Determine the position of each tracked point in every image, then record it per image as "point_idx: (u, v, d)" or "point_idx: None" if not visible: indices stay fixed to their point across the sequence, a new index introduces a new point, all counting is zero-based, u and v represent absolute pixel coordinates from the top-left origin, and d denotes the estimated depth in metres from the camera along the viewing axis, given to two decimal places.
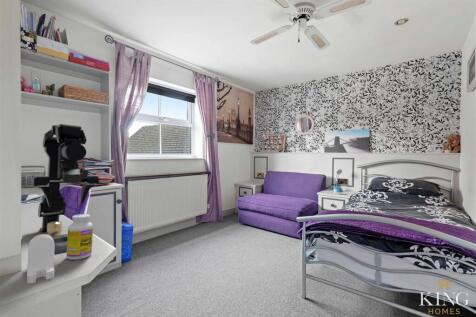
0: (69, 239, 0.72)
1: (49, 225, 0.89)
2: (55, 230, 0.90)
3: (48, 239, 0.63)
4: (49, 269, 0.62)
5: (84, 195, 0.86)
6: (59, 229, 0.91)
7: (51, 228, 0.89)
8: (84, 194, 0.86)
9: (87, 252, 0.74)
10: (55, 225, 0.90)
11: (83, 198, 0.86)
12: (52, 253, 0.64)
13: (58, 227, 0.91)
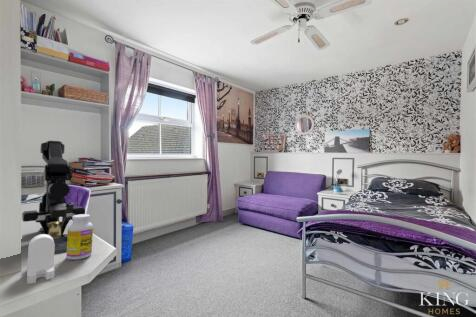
0: (69, 239, 0.72)
1: (49, 225, 0.89)
2: (55, 230, 0.90)
3: (48, 239, 0.63)
4: (49, 269, 0.62)
5: (64, 227, 0.93)
6: (59, 229, 0.91)
7: (51, 228, 0.89)
8: (64, 226, 0.93)
9: (87, 252, 0.74)
10: (55, 225, 0.90)
11: (63, 229, 0.93)
12: (52, 253, 0.64)
13: (59, 227, 0.91)
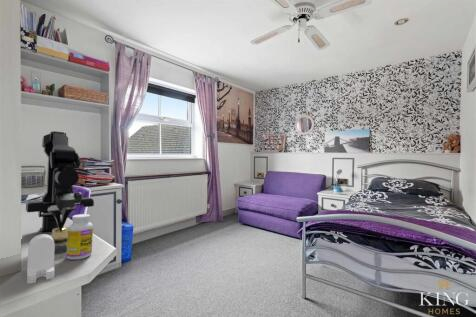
0: (69, 239, 0.72)
1: (54, 231, 0.82)
2: (61, 236, 0.82)
3: (48, 239, 0.63)
4: (49, 269, 0.62)
5: (64, 220, 0.84)
6: (65, 235, 0.84)
7: (57, 234, 0.82)
8: (64, 219, 0.84)
9: (87, 252, 0.74)
10: (61, 231, 0.82)
11: (63, 223, 0.84)
12: (52, 253, 0.64)
13: (65, 233, 0.83)
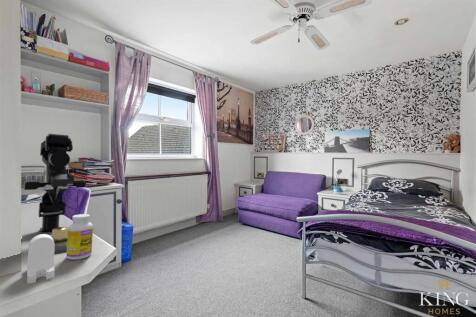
0: (69, 239, 0.72)
1: (55, 231, 0.82)
2: (61, 237, 0.82)
3: (48, 239, 0.63)
4: (49, 269, 0.62)
5: (58, 198, 0.92)
6: (65, 235, 0.84)
7: (57, 234, 0.82)
8: (58, 198, 0.92)
9: (87, 252, 0.74)
10: (61, 231, 0.82)
11: (57, 201, 0.92)
12: (52, 253, 0.64)
13: (65, 233, 0.83)
